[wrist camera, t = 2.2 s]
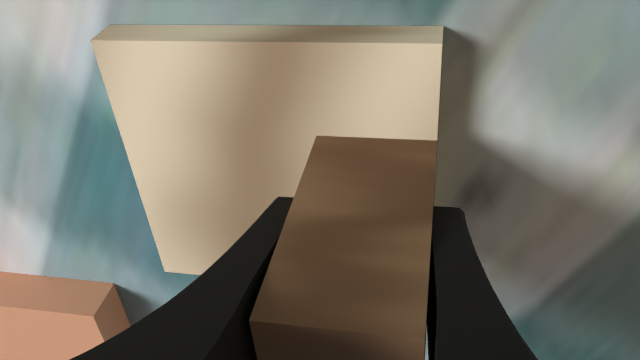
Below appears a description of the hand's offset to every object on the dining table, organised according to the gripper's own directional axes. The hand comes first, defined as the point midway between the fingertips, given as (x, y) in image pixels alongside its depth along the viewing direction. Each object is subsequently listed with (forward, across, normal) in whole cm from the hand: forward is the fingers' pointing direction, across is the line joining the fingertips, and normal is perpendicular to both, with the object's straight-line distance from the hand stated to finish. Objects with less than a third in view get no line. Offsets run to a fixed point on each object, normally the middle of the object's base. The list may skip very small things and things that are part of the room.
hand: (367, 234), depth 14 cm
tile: (+3, +13, +9) cm, 16 cm away
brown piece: (+3, +3, 0) cm, 4 cm away
